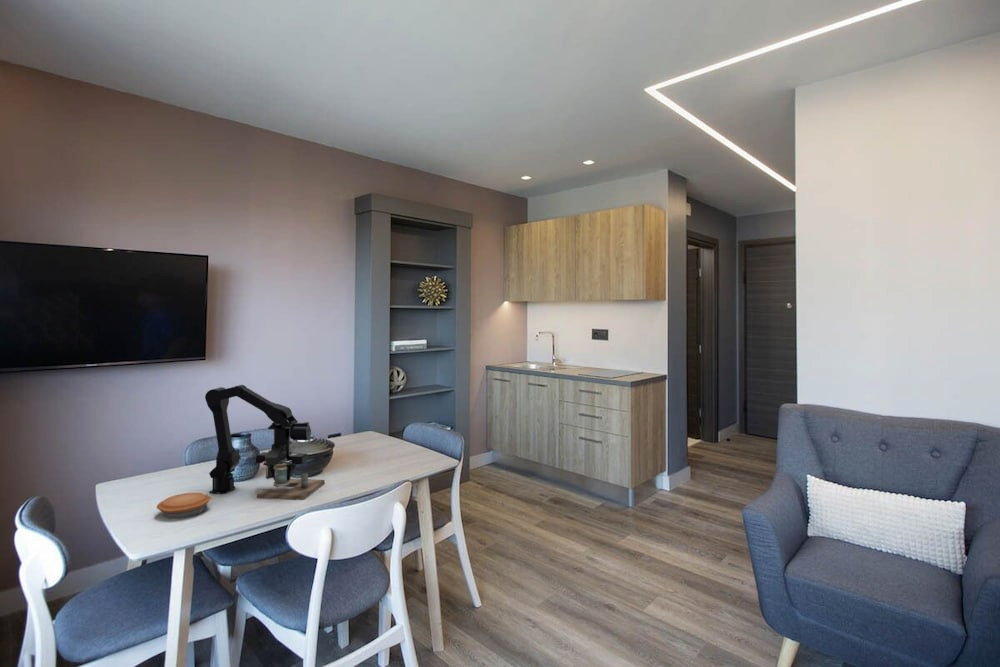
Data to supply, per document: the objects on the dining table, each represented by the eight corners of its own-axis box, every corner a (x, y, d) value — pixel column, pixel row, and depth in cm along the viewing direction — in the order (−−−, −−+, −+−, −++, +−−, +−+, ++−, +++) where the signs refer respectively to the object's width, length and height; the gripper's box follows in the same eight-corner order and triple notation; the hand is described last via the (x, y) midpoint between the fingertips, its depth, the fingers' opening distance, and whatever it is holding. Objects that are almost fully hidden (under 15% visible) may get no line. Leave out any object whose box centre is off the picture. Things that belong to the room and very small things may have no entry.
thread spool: (270, 486, 186) (270, 467, 186) (278, 481, 192) (278, 463, 192) (285, 486, 186) (285, 468, 186) (292, 481, 192) (292, 463, 192)
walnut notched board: (256, 497, 181) (256, 480, 180) (281, 481, 199) (281, 466, 198) (303, 499, 179) (303, 482, 179) (324, 483, 197) (324, 467, 197)
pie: (180, 502, 176) (180, 488, 175) (220, 504, 174) (220, 490, 174) (144, 519, 160) (144, 504, 160) (188, 522, 159) (188, 507, 159)
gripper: (246, 444, 181) (246, 486, 182) (295, 446, 180) (294, 488, 180) (263, 437, 192) (263, 476, 193) (308, 438, 191) (308, 478, 192)
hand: (281, 480), depth 189 cm, fingers closed on thread spool, 5 cm apart
